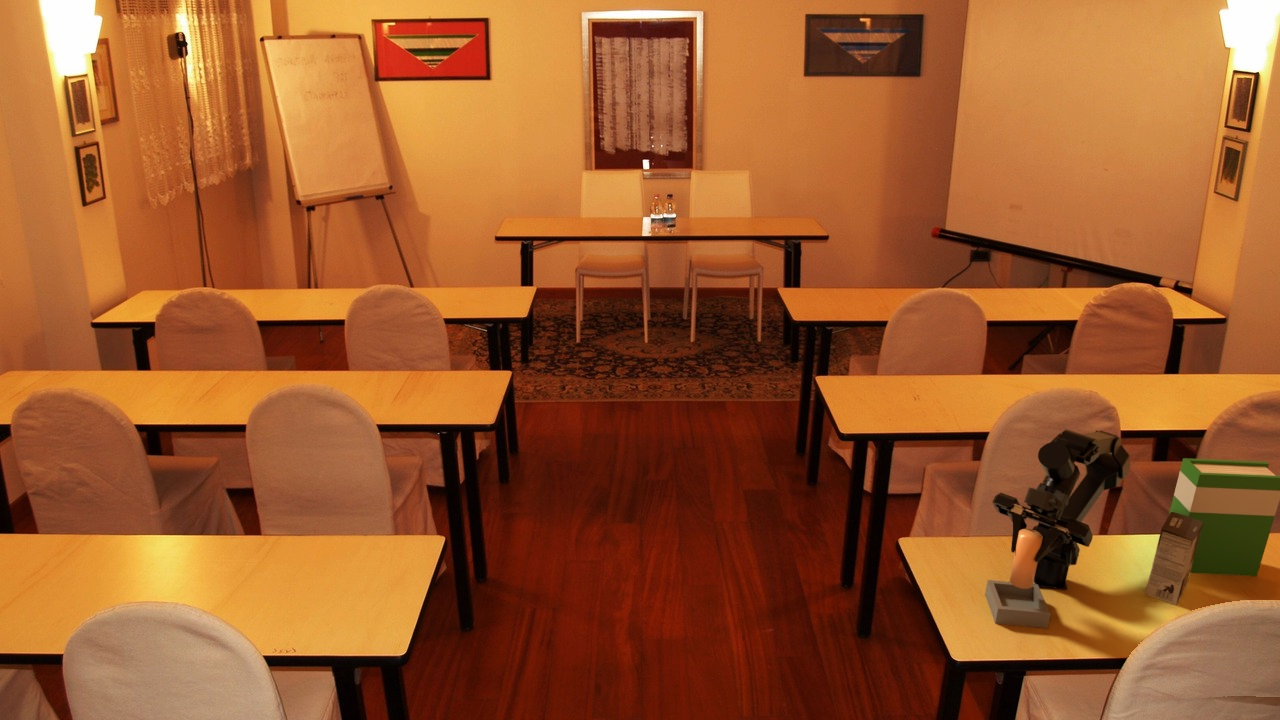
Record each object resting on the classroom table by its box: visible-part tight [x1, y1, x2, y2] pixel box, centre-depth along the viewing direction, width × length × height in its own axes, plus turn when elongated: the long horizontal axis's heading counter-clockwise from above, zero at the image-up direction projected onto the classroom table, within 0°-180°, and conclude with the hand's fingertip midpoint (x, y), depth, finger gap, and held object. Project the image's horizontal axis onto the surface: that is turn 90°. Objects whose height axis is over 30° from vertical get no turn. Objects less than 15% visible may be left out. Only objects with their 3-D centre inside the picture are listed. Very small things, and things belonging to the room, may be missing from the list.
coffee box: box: [1145, 512, 1203, 606], centre depth 205 cm, size 9×6×16 cm
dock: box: [984, 579, 1051, 629], centre depth 199 cm, size 10×10×4 cm
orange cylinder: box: [1009, 528, 1043, 589], centre depth 195 cm, size 4×4×11 cm
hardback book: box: [1168, 457, 1280, 577], centre depth 213 cm, size 18×7×24 cm, turn 87°
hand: (1023, 556), depth 194 cm, fingers closed on orange cylinder, 4 cm apart
